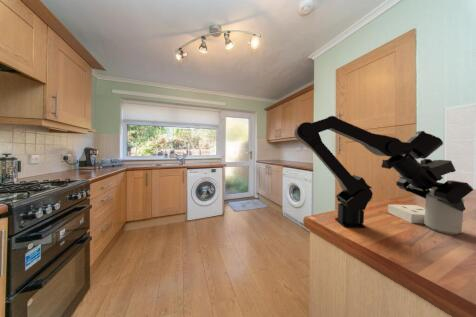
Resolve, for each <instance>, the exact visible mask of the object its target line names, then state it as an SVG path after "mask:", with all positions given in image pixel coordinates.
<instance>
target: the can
mask: <svg viewBox="0 0 476 317" xmlns="http://www.w3.org/2000/svg"><path fill="white" fill-rule="evenodd" d="M429 191H430V193H428V194H426V199H425V205H424V206H425V207H424V208H425V220H424V223H423V224H425V226H426V227H427V229H430V230H432V231H435V232H438V233H442V234H446V235H447V234H448V235H457V234H459V233H462V231H463V221H464V211H459V210H457V209H455V208H453V207H451V206H449V205H446V204H444V203H442V202H440V201H438V199H437V198H436V197H435V196H434V191H435V190H433V189H429ZM462 201H463V204H464V205H465V199H464V197H463V198H462Z"/></svg>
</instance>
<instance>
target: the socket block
mask: <svg viewBox="0 0 476 317" xmlns="http://www.w3.org/2000/svg"><path fill="white" fill-rule="evenodd" d="M387 213H389V214H391V215H393V216H395V217H398V218H400V219H402V220H404V221H406V222H407V223H411V224H425V223H424V220H425V207H421V206H419V205H416V204H387Z"/></svg>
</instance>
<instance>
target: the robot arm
mask: <svg viewBox="0 0 476 317" xmlns="http://www.w3.org/2000/svg"><path fill="white" fill-rule="evenodd" d="M327 130H328V131H331V132H333V133H335V134H338V135H339V136H340V135H341V136H342V137H344V138H347V139H348V140H352V141H353V142H355V143H358V144H360V145H362V146H363V147H364V148H365V149H366V150H367V151H369V152H370V153H372V154H373V155H375V156H378V157H388V159H382V161H381V162H382V163H381V169H382V168H383V169H387V170H391V169H394V170H395V171H396V172H397V173H398V174H399V175H398V177H399V179H398V180H397V181H396V184H395V185H396V186H397V187H398V188H399V189H401V190H404V191H406V192H408V193H411V194H413V195H415V196H418V197H420V198H422V199H425V200H426V194H428V193H430V191H429V190H435V191H434V196H435V197H436V198H437V199H438V201H440V202H442V203H444V204H446V205H449V206H451V207H453V208H455V209H457V210H459V211H463V212H464V211H465V210H466V207H465V203H464V204H463V201H462V198H463V199H464V198H465V197H466V196H467V195H468V194H470V193H471V192H473V191H474V188H473V187H472V186H471V185H470V184H469V183H468V182H465V181H458V180H454V179H453V180H451V179H450V180H446V181H445V182H440V181H441V180H442V179H444V177H443V176H444V175H445V176H446V175H447V174H451V173H455V172H456V171H457V170H456V168H455V165H454V164H453V161H452V160H448V159H447V160H446V159H433V160H432V159H430V158H428V157H429V156H431V154H433V153H434V152H436V151H437V150H438V149H439V148H441V146H443V145H444V141H443V140H442V139H441V138H440V137H439V136H435V135H433V134H431V133H428V132H426V131H424V130H421V131H416V132H415V133H414V134H413V135H412V136H411V137H410V138H409V139H408V140H407V141H405V142H404V141H402V140H400V139H399V138H397V137H395V136H394V137H392V136H389V135H386V134H385V135H383V134H378V133H373V132H370V131H368V130H366V129H364V128H361V127H359V126H356V125H354V124H352V123H349V122H347V121H345V120H342V119H340V118H338V117H336V116H335V115H329V116H328V117H325V118H323V119H320V120H317V121H313V122H309V121H305V122H303V123H300V124H299V125H297V126H296V127H295V129H294V133H293V134H294V137H295V138H296V139H297V141H299V142H300V143H301V144H303V146H306V147H308V149H310V150H311V151H312V152H313V153H314V155H315V156H316V157H317V158H318V159H319V161H321V162H322V163H323V165H324V166H325V167H326V169H328V171H329V172H330V173H331V174H332V176H334V178H335V179H337V181H338V184H339V186H340V188H341V191H339V193H338V194H336V196H335V197H336V200H337V201H338V202H339V203H337V217H335V220H336V221H337V222H338V223H339V224H340V225H342V226H343V227H345V228H361V229H363V228H366V225H365V224H364V222H365V220H364V219H365V209H366V208H367V205H368V203H369V202H370V201H372V198H373V191H372V186H370V185H369V184H368V183H367V182H366V180H365V179H364V178H363V177H362V176H358V175H355V174H353V175H352V174H351V173H350V172H349V171H348V170H347V168H346V167H344V165H343V164H342V162H340V160H339V159H338V158H337V157H336V156H335V155H334V154H333V153H332V151H331V150H330V149H329V148H328V147H327V145H326V144H325V143H323V141H322V137H321V134H320V133H321V132H325V131H327ZM419 159H421V160H420V162H419V161H418V160H419ZM438 181H439V182H438Z"/></svg>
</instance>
